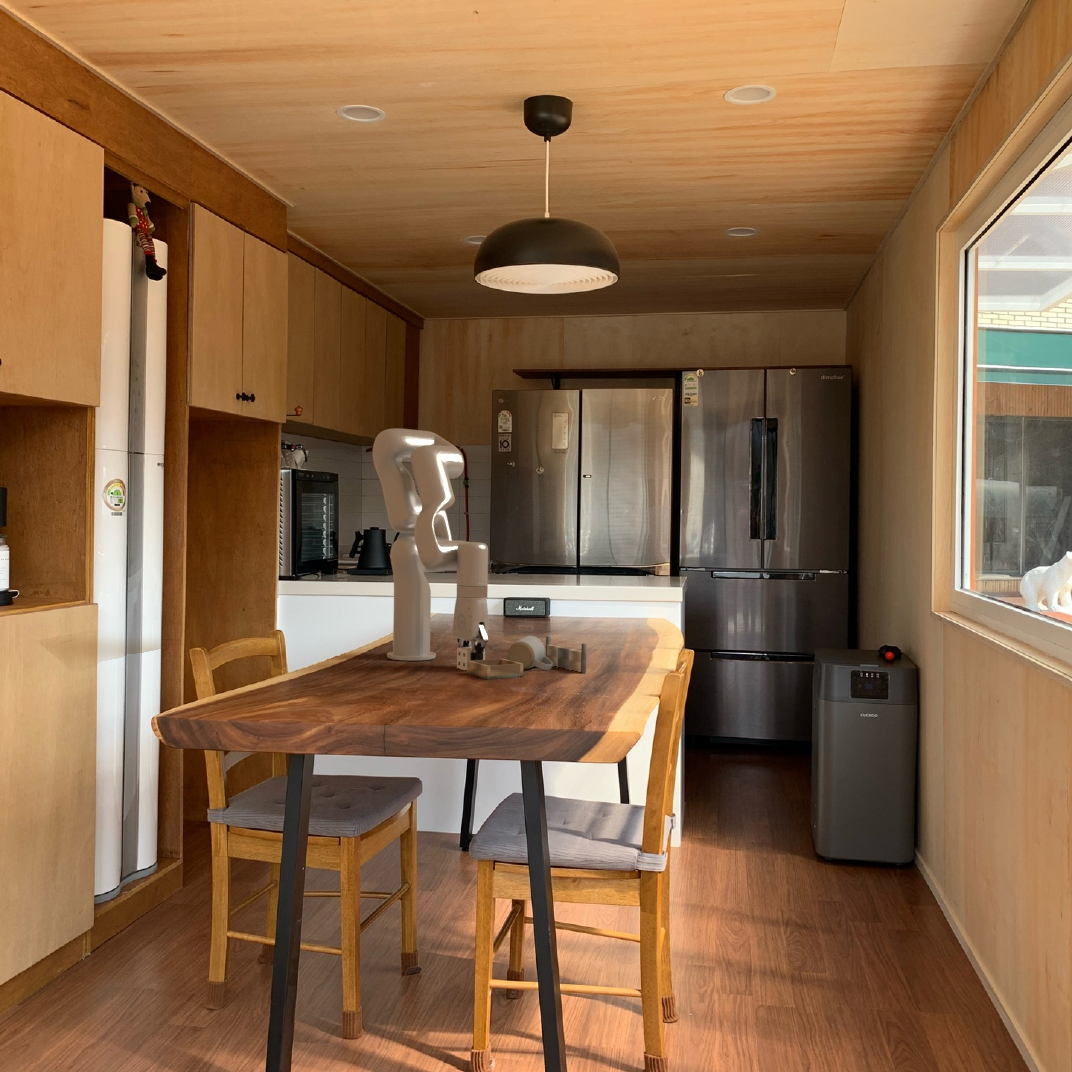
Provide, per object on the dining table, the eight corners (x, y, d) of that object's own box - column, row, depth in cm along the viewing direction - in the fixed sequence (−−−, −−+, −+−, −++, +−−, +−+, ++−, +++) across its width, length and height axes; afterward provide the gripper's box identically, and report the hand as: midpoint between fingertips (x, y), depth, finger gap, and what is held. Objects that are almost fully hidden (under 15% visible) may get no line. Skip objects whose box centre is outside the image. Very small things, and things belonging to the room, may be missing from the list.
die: (456, 668, 255) (456, 647, 255) (474, 666, 258) (475, 646, 257) (466, 670, 251) (466, 649, 250) (484, 669, 253) (485, 648, 253)
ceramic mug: (505, 669, 254) (506, 638, 254) (516, 664, 262) (517, 634, 261) (547, 673, 251) (548, 641, 250) (556, 668, 258) (557, 637, 258)
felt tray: (467, 673, 246) (467, 660, 246) (502, 670, 251) (502, 658, 251) (487, 679, 238) (487, 666, 238) (523, 676, 243) (523, 663, 243)
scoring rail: (544, 664, 264) (545, 636, 264) (548, 663, 264) (549, 636, 264) (582, 673, 249) (583, 644, 249) (587, 673, 250) (587, 643, 250)
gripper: (442, 590, 259) (441, 663, 259) (475, 595, 245) (474, 673, 245) (468, 590, 263) (467, 662, 263) (503, 595, 249) (501, 671, 249)
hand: (470, 666), depth 254 cm, fingers closed on die, 5 cm apart
